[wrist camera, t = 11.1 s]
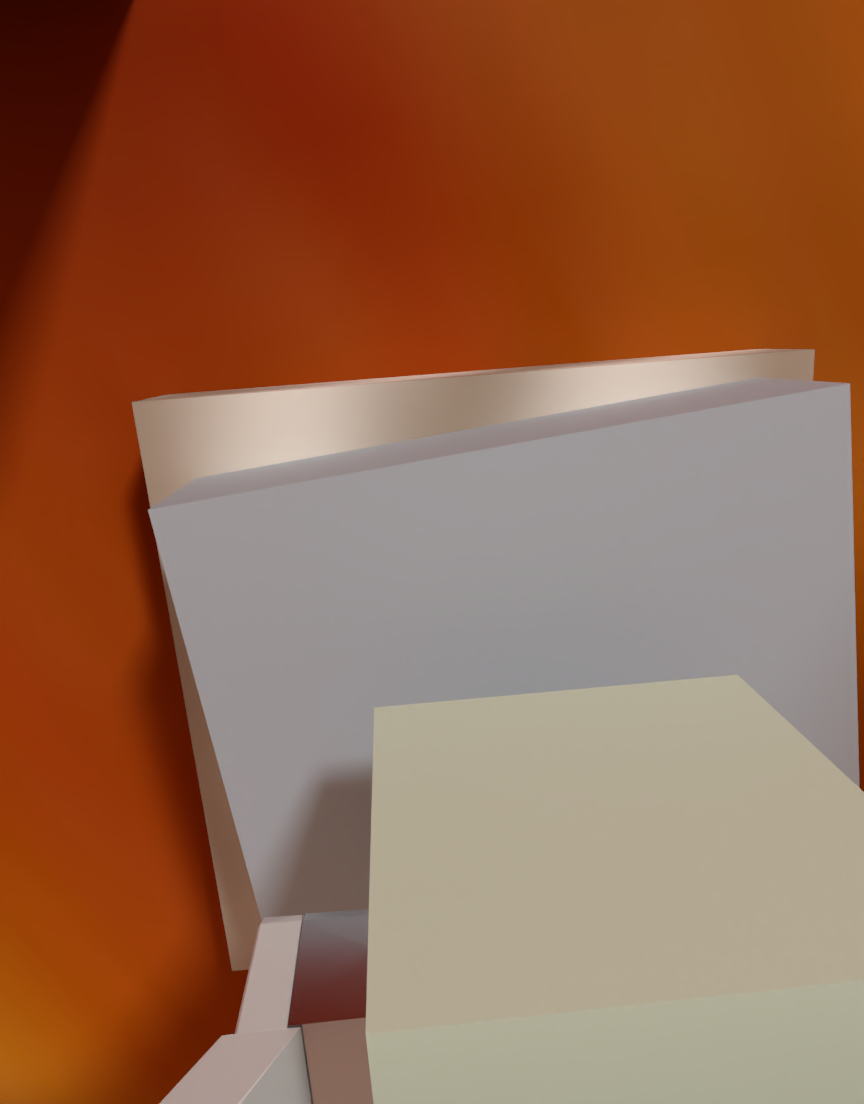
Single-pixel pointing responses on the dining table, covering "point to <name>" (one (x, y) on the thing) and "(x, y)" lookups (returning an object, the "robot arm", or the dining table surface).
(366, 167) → the dining table surface
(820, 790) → the beige block
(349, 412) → the bottom slab
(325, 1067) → the robot arm
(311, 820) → the top slab
